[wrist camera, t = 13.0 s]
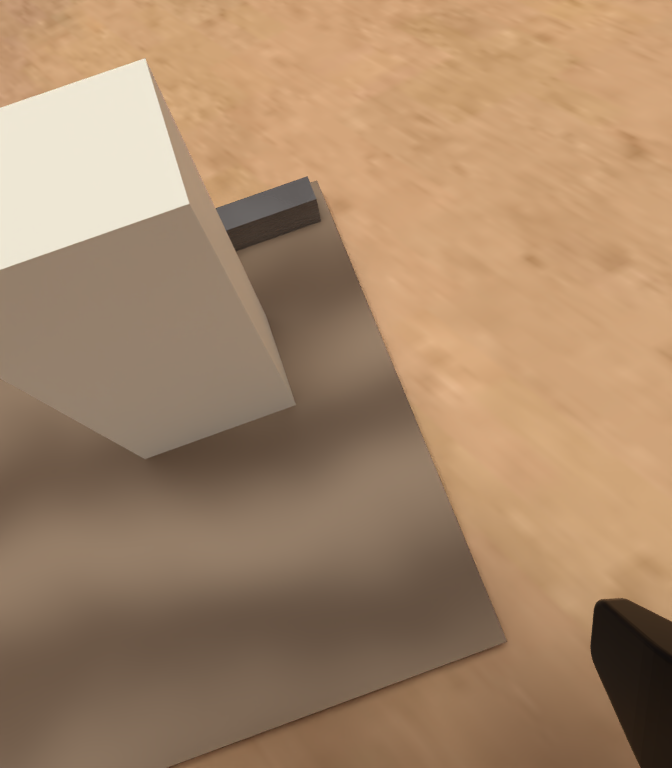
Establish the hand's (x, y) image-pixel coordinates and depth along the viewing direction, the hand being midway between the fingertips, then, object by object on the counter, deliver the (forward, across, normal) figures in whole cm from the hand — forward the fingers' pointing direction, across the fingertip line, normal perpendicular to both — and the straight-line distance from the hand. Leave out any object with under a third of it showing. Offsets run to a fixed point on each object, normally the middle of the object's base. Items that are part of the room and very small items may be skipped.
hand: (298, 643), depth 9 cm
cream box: (+15, +4, 0) cm, 15 cm away
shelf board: (+14, +8, +4) cm, 16 cm away
